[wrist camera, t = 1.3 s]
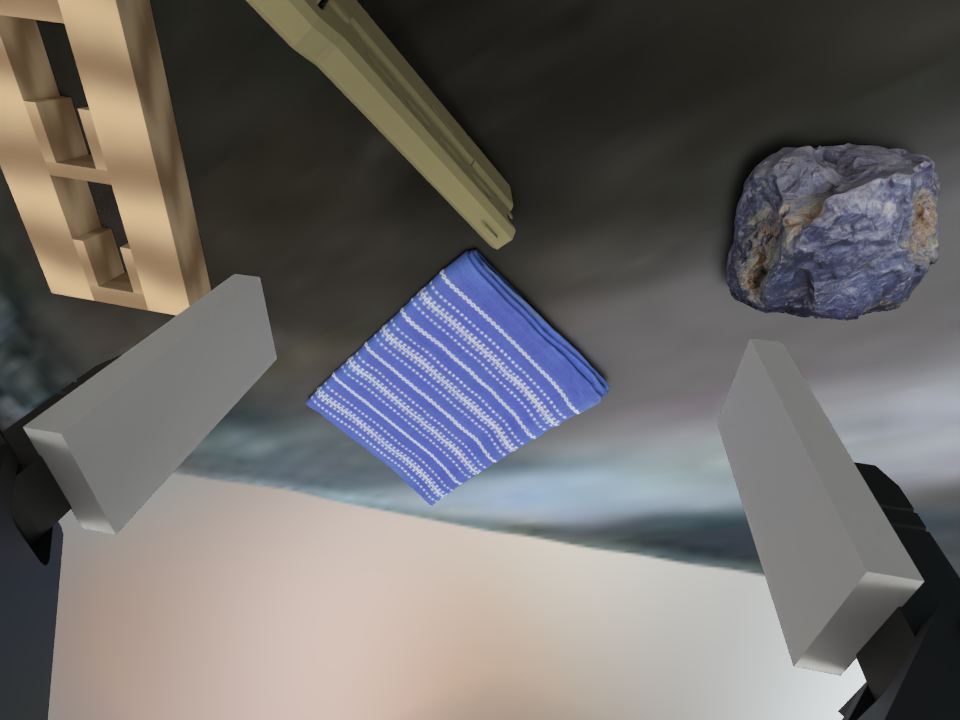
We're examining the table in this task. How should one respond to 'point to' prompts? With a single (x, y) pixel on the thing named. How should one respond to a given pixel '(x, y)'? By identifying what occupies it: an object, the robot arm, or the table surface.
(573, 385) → the dish towel
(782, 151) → the rock
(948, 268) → the table surface
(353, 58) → the handgun
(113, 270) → the board
